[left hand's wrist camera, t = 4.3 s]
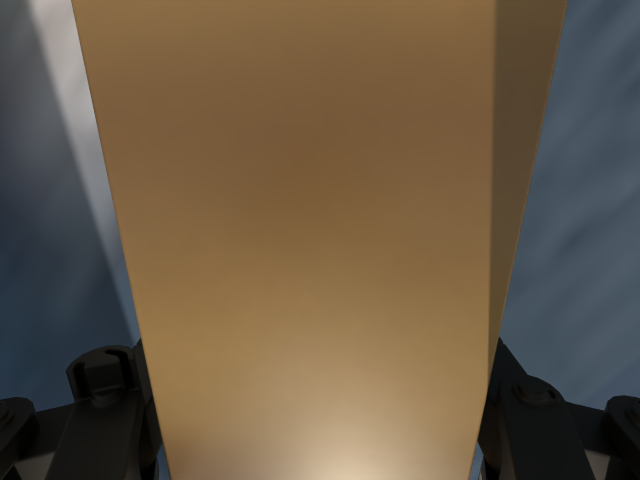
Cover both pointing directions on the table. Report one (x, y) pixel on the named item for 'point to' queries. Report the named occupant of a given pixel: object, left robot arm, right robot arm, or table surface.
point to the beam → (319, 220)
